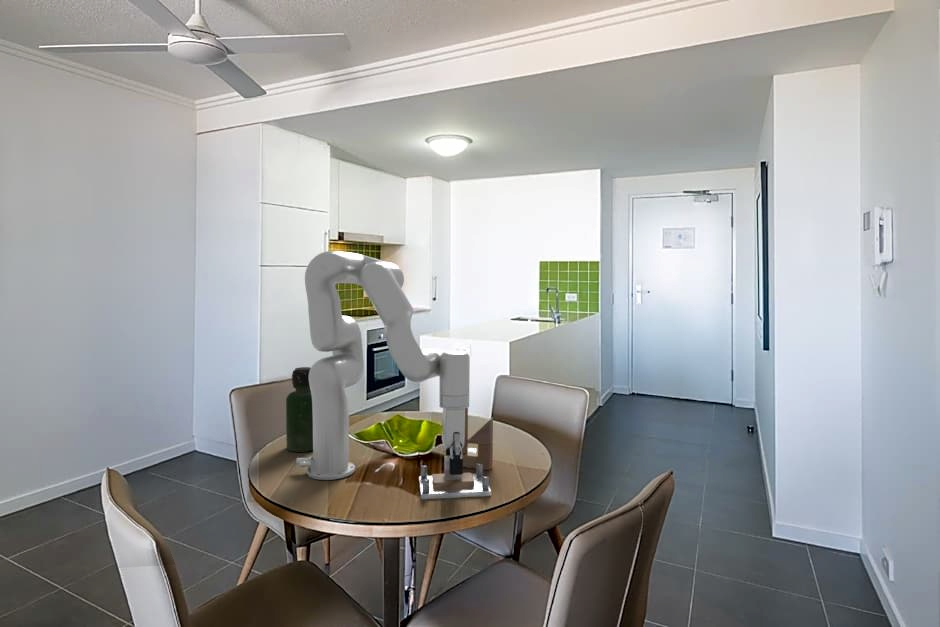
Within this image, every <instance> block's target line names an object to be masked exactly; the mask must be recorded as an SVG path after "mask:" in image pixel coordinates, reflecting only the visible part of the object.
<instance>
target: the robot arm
mask: <svg viewBox="0 0 940 627" xmlns="http://www.w3.org/2000/svg"><path fill="white" fill-rule="evenodd" d="M404 282H405V276H404V272H403V271H402V269H401V268H400V267H399V266H398V265H397V264H395V263H393V262H390V261H385V260H381V259H378V258H375V257H370V256H368V255H363V254H360V253H355V252H349V251H342V250H327V251H323V252H320V253H318V254H317V255H316V256H314V257H312V259H311V261H309V263H308V264H307V267H306V269H305V273H304V286H305V287H304V288H305V292H306V293H305V294H306V297H307V298H306V299H307V306H308V308H307V310H308V312H307V313H308V321H309V334H310V341H311V344H312V346H313V348H314V349H316V350H317V351H318V352H322V353H328V352H331V353H332V355H329V356H325V357H323V358H320V359H319V360H317V361H315V362H314V363H313V364H312V366H311V367H310V368H311V369H310V371H309V385H310V390H311V396H312V413H313V451H312V455H311V456H308V457H297V458H296V462H295V463H296V466H299V468H306V467H307V470H306V474H307V476H308V477H309V478H310V479H313V480H319V481H331V480H339V479H344V478H347V477H348V476H351V475H353V473H355V470H356V466H355V464H354V463H353V462H350V414H349V413H350V412H349V411H350V410H349V400H348V398H347V395H346V390H345V389H346V388H348V387H352V386H355V385H356V384H357V383H359V381H360V380H361V379H362V377H363V375H364V371H365V370H364V369H365V367H364V366H365V365H364V354H363V353H364V351H363V340H362V331H361V328H360V326H359V324H358V322H357V321H356V320H355V319H354V318H353V317H351V316H348V315H343V314H342V306H341V305H342V304H341V298H340V295H339V293H338V291H337V290H338V289H337V288H336V285H337V284H352V285H353V284H355V285H358V286H361V287H362V289H363V290H364V292H365V294H366V296H367V298H368V299H369V301H370V303H371V304H372V307H374V310H375V311H376V313H377V315H378V317H379V318H380V320H381V321H382V324H383V326H384V335H385V341H386V345H387V347H388V350H389V353H390V355H391V357H392V359H393V361H394V363H395V364H396V366H397V368H398V370H399V371H400V373H401V374H402V375H403V377H405V378H406V379H407V380H408V381H409V382H412V383H422V382H425V381H428V380H430V379H432V378H436V377H439V379H438V380H439V381H438V382H439V384H438V386H439V388H438V390H439V392H438V393H439V398H438V399H439V403H438V404H439V408H442V419H441V420H442V423H441V425H442V428H441V441H442V444H443V448H444V449H445V456H451V458H450V467H449V473H450V475H462V474H463V473H464V470H463V469H464V467H463V458H462V448H463V447H464V441H465V408H468V409H469V408H470V379H471V377H470V375H471V374H470V358H471V357H470V355H469V353H468V352H466V351H463V350H443V349H439V348H435V347H434V348H432V347H431V348H429V347H428V348H424V349H421V347H420V345H419V344H418V342H417V341H416V338H415V337H414V335H413V332H412V326H411V323H412V322H411V321H412V317H413V314H414V308H413V305H412V304H411V302H410V301H409V299H408V297H407V296H406V294H405V292H404V291H403V289H402V288H403V286H404V284H405V283H404Z"/></svg>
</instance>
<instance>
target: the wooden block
mask: <svg viewBox="0 0 940 627" xmlns="http://www.w3.org/2000/svg"><path fill="white" fill-rule="evenodd" d="M468 423H469V407H468V408H465V441H464V447H463V448H462V458H463V468H464V467H465V469H466V468H467V469H473V468H474V469H475V470H476V468H477V463H482V464H483V471H491V468H493V458H494V457H493V454H494V453H493V449H494V448H493V444H494V443H493V441H494V439H493V438H494V437H493V436H494V417H491V418H490V419H489V420H488V421H487V422H485V423H484V424H483V425H482V426H481V427H480V428H479V429H478V430H477V431H476V432H475V433H474V434H473V435H471V437H469V424H468ZM468 444H473V445H474V444H475V445H477V453H474V452H468V448H469V445H468Z"/></svg>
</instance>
